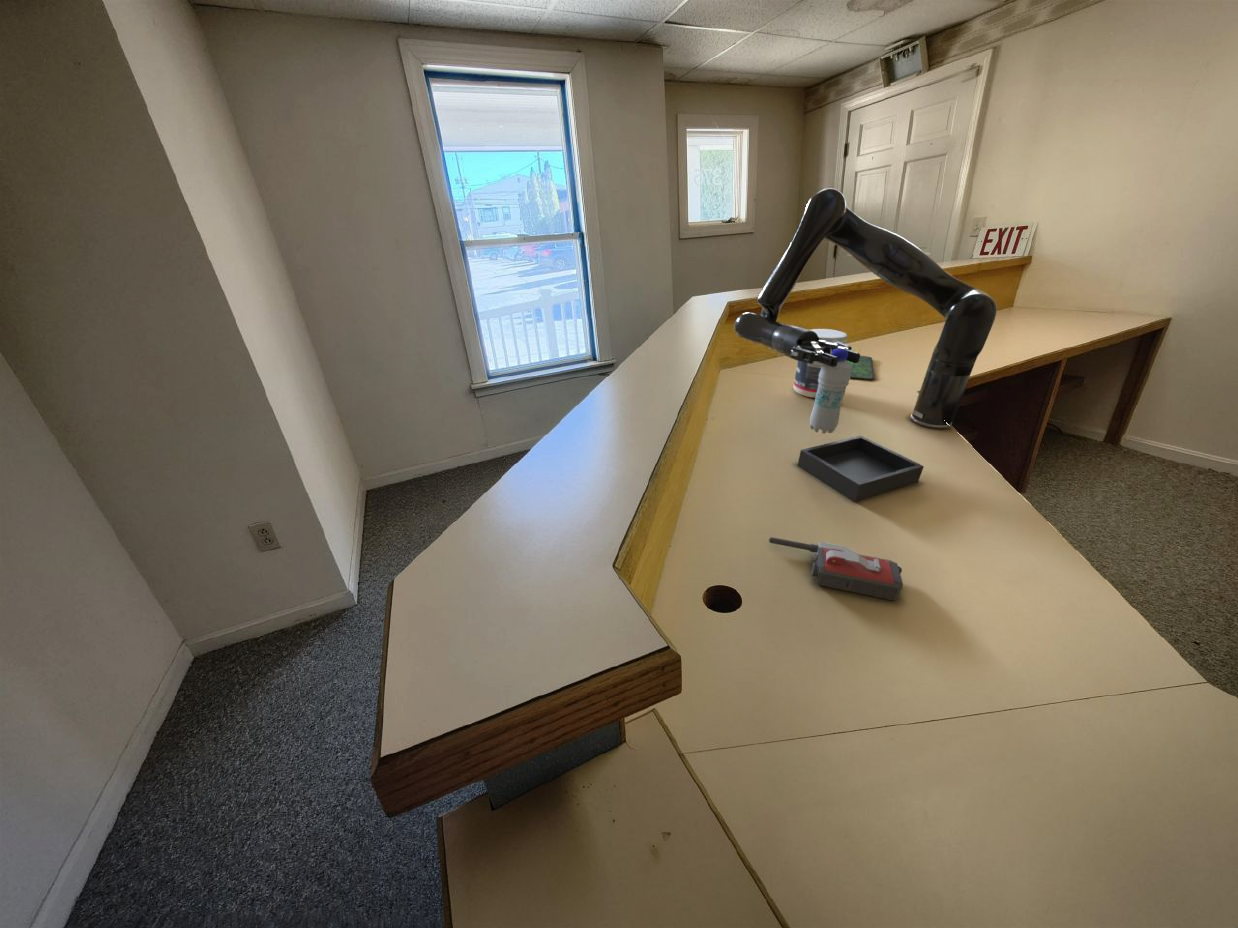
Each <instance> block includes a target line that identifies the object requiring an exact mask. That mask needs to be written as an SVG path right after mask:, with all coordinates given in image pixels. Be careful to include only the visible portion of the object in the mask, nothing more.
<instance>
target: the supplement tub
mask: <svg viewBox="0 0 1238 928" xmlns="http://www.w3.org/2000/svg"><path fill="white" fill-rule="evenodd" d="M810 330H811V331H814V332H815V333H816V334H817V335H818V337H819V340H824V341H827V342H829V343H833V341H839V342H841V343H844V344H846V343H847V341H848V340H847V339H848V334H847V333H846V332H845V331H841V330H836V329H830V328H813V329H810ZM831 353H832V351H831V352H830V355H831ZM822 365H823V363H820V364H818V363H816V362H813V364H809V363H806V362H800V361H797V365H796V370H795V374H794V380H793V384H792V387H793V390H794V391H795V392H796V393H797V394H799V395H800V396H804V397H807V398H812V399H813V398H814V399H815V398H816V394H817V389H818V385H819V382H818V379H819V373H820V370H821V368H822Z"/></svg>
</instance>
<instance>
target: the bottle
mask: <svg viewBox="0 0 1238 928" xmlns="http://www.w3.org/2000/svg"><path fill="white" fill-rule="evenodd" d="M831 355H833V356H836V357H838V363H837V366H836V367H831V366H828V365H826V364H823V365H822V368H821V370H820V373H819V379H818V382H819V385H818V389H817V394H816V398H814V403H813V408H812V410H811V413H810V417H809V427H810V430H813V431H814V432H815V433H818V432H819V431H820V430H821V434H823V435H824V434H827V433H828V434H831V433H833V432H834V431H835V430H836V428H837V427H838V425H839V422H840V415H841V409H842V405H843V401H844V397H845V394H846V389H847V387H848V385H849V384H850V383H849V382H850V380H851V378H850V375H851V364H850V363H849V362H847V361H846V360H847V356H848V352H847V350H845V349H839V348H838V349H834V350H833V351H832V353H831Z"/></svg>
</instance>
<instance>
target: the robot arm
mask: <svg viewBox="0 0 1238 928" xmlns="http://www.w3.org/2000/svg"><path fill="white" fill-rule="evenodd" d="M824 239H825V240H827V241H829V242H831V243H833V244H834V245H836V246H838V247H840V248H842V249H843V250H844V251H846V252H847V253H848V254H849V255H850V256H852V258H853V259H855V260H856V261H857V262H858V263H859V264H861V265H863V267H865V268H866V269H867V270H869V271H870V272H871V273H873V274H874V275H875V276H877V277H878V278H880V279H881V280H883V281H884V282H885V283H886V284H889V285H890V286H891V287H894V288H896V289H898V290H900V291H902V292H904V293H906V294H909V295H911V296H914V297H916V298H918V299H920V300H922V301H924V302H925V303H926V304H927V305H929V306H930V307H932V308H933V310H935V311H936V312H938V313H939V314H940V315H941V316H942V317H943V318H944V319H945V321H944V323H943V327H942V329H941V332H940V336H939V338H938V341H937V343H936V345H934V348H933V351H932V353H931V357H930V359H929V363H928V365H927V369H926V372H925V374H924V377H923V380H922V384H921V386H920V389H919V393H918V395H917V399H916V401H915V404H914V407H913V410H912V413H911V415H910V420H911V421H912V422H913V423H915V424H917V425H919V426H923V427H925V428H930V429H943V430H944V429H948V428H950V426H951V427H952V425H953V423H954V421H955V419H956V416H957V413H958V411H959V408H960V405H961V403H962V400H963V397H964V395H965V392H966V387H967V384H968V382H969V380H970V377H971V374H972V371H973V369H974V367H975V364H976V362H977V359H978V356H979V355H980V354H981V352H982V351H983V349H984V347H985V344H986V343H987V340H988V337H989V335H990V333H991V330H992V328H993V325H994V324H995V323H994V322H995V320H996V317H997V313H998V307H997V303H996V301H995V300H994V298H993V297H991V296H990V295H989V294H988V293H987V292H985V291H983V290H980V289H978V288H976V287H974V286H972V285H969V284H968V283H965V282H964V281H962V280H960V279H958V278H956V277H954V276H953V275H952V274H950V273H948V272H947V271H946V270H945V269H944V268H942V267H941V266H940V265H939V264H938V263H937V262H936V261H935V260H933V258H932V257H930V256H929V255H928V254H927V253H925V252H924V251H923V250H922V249H920V248H919V247H918V246H916V245H915V244H913V243H912V242H910V241H908V240H907V239H906V238H904V237H903V236H901V235H899V234H897V233H894V232H892V231H889V230H887V229H885V228H882V227H880V226H876V225H874V224H871V223H869V222H867V221H866V220H864V219H863V218H861V217H860V216H858V215H857V213H855V212H853V211H852V210H851V209H850V208H849V207H848V206H847V202H846V198H845V196H844V194H843V193H842V192H841V191H840V190H838V189H835V188H831V187H830V188H824V189H822V190H820V191H818V192H816V193H815V194H813V196H812V197H811V198H809V200H808V203H807V204H806V207H805V210H804V213H803V216H802V218H801V220H800V223H799V226H798V228H797V230H796V231H795V234H794V236H793V238H792V240H791V241H790V243H789V245H788V246H787V249H786V250H785V252H784V253H783V255H782V256H781V258H780V260H779V261H778V262H777V264H776V266H775V267H774V269H773V270H772V272H771V274H770V275H769V277H768V279H767V280H766V282H765V284H764V285H763V287H762V288H761V290H760V292H759V293H758V296H757V297H756V298H757V299H756V302H757V304H758V305H759V306H760V307H761V313H760V314H758V313H754V312H751V311H746V312H742V313H741V314H740V315H739V316H738V317H737V318H736V320H735V321H734V332H735V333H736V335H737V336H738V337H739V338H741V339H743V340H746V341H748V342H751V343H752V344H755V345H761V346H763V347H765V348H766V349H769V350H772V351H775V352H776V353H778V354H780V355H781V356H785V357H787V358H789V359H792V360H795V361H797V362H798V361H800V362H806V363H809V364H813V362H816V363H818V364H820V363H823V364H826V365H828V366H831V367H836V366H837V363H838V357H836V356H833V355H830V352H831V351H833V350H834V349H838V348H839V349H845V350H847V352H848V356H847V360H846V361H849V362H852V363H858V362H859V358H860V356H861V353H860V352H857V351H853V346H852V345H850V344H846V343H841V342H839V341H833V343H829V342H827V341H824V340H819V337H818V335H817V334H816V333H815V332H814V331H811V330H812V329H807V328H804V327H802V326H801V327H800V326H797V325H793V324H787V323H783V322H780V321H778V318H779V315H780V312H781V309H782V307H783V306H784V304H785V302H786V301H787V300H788V298H789V296H790V295H791V293H792V292H793V290H794V289H795V286H796V285H797V283H798V281H799V279H800V277H801V275H802V274H803V272H804V270H805V268H806V266H807V264H808V263H809V261H810V259H811V258H812V256H813V254H814V253H815V251H816V250H817V248H818V247H819V246H820V245H821V243H822V241H823V240H824ZM944 420H945V421H944ZM946 422H947V423H948V424H949V425H950V426H949V425H947V424H946Z"/></svg>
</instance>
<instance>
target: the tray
mask: <svg viewBox="0 0 1238 928" xmlns="http://www.w3.org/2000/svg"><path fill="white" fill-rule="evenodd" d="M797 466H798V467H799V468H800V469H803V471H805V472H807V473H809V474H810V475H812V476H813V477H815V478H817V479H818V480H820V481H821V482H822V483H824V484H826V485H828V487H830V488H832V489H833V490H835V491H836V492H838V493H840V494H841V495H842V496H844V497H846V498H847V499H849V500H850V501H852V502H854V503H856V502H858V501H862V500H865V499H868V498H872V497H875V496H878V495H882V494H884V493H885V494H886V493H888V492H891V491H894V490H898V489H901V488H904V487H905V488H906V487H908V486H910V485H915V484H918V483H919V481H920V477H921V475H922V472H923V470H924V467H925V466H924V465H923V464H920V463H918V462H916V461H914V460H913V459H910V458H908V457H906V456H904V455H902V454H900V453H897V452H896V451H894V450H892V449H889V448H888V447H885V446H884V445H881V444H880V443H877V442H875V441H873V440H872V439H869V438H867V437H865V436H863V435H857V436H856V435H855V436H852V437H849V438H844V439H840V440H836V441H832V442H827V443H824V444H820V445H815V446H811V447H806V448H802V449H800V452H799V457H798V462H797Z"/></svg>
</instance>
